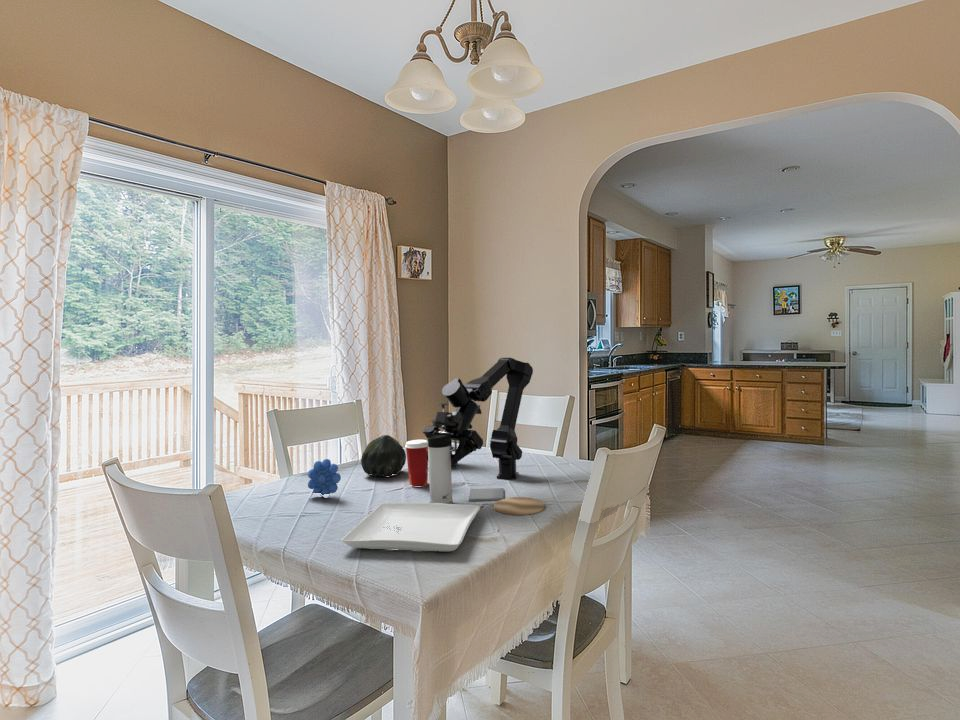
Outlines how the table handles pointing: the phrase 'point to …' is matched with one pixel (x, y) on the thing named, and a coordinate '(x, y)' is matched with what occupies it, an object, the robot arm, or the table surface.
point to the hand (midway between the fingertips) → (439, 461)
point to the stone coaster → (486, 494)
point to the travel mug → (440, 469)
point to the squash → (383, 457)
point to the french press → (450, 440)
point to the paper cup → (417, 462)
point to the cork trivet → (519, 506)
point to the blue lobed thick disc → (324, 477)
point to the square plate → (413, 527)
